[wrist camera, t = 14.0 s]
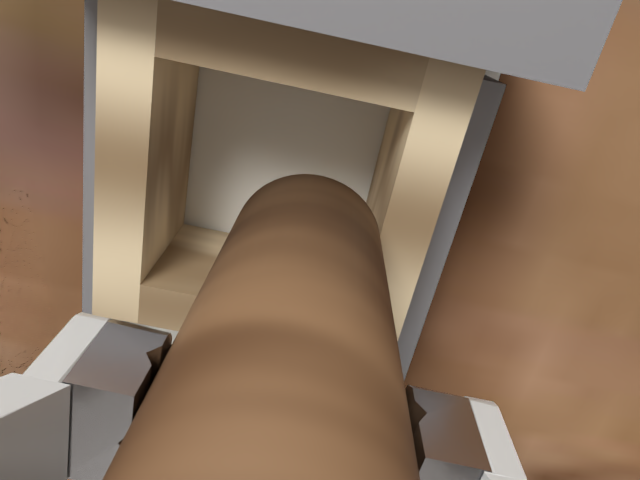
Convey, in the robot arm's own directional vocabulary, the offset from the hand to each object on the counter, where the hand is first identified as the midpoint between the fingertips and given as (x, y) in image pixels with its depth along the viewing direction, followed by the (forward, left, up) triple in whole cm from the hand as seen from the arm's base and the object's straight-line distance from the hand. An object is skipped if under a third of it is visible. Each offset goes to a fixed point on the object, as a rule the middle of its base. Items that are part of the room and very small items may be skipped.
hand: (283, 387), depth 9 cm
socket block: (0, +1, -12) cm, 12 cm away
